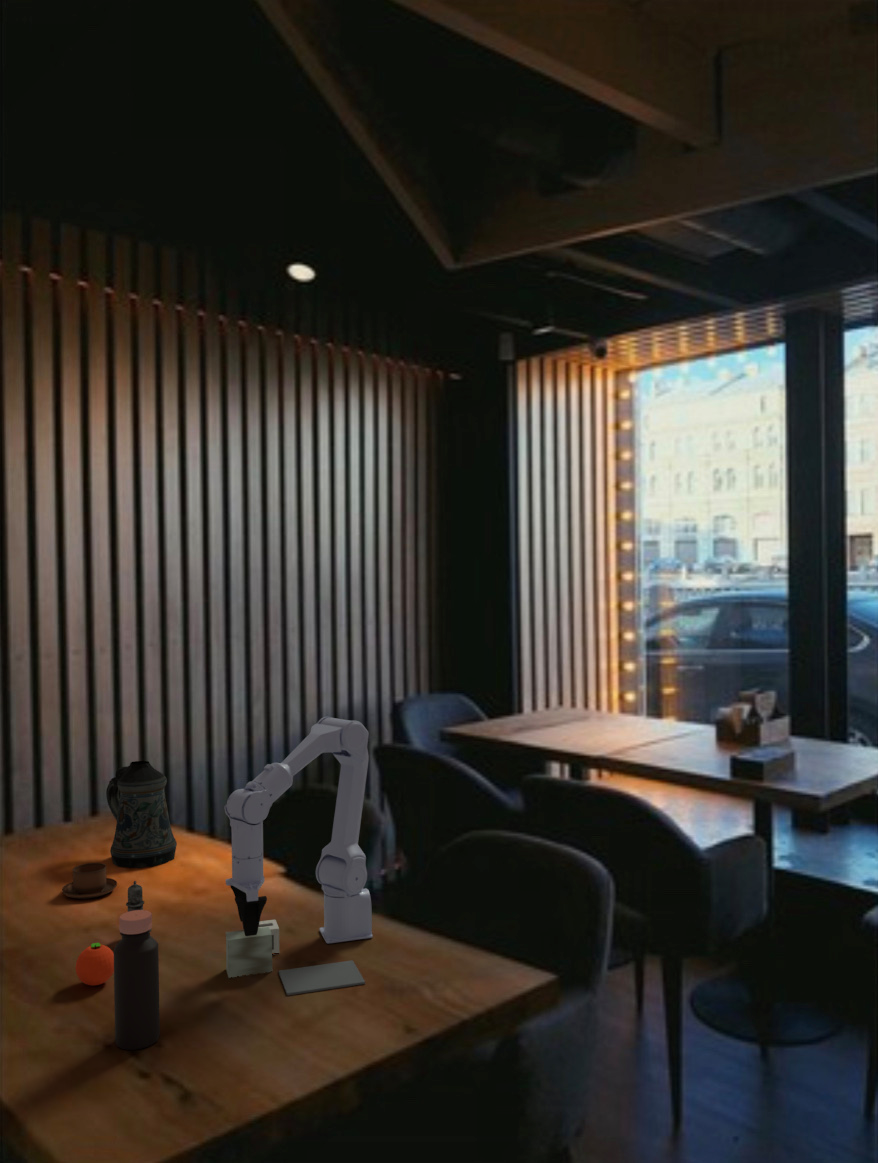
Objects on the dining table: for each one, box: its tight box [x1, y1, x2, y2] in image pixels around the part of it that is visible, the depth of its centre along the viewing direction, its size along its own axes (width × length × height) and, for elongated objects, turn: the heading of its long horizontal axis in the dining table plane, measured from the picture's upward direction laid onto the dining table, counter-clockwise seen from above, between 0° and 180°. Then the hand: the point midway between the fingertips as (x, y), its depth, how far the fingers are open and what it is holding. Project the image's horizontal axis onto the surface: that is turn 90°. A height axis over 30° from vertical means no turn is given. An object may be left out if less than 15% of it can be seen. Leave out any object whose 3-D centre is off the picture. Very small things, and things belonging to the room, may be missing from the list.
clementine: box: [75, 942, 114, 987], centre depth 173 cm, size 8×7×7 cm
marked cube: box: [258, 919, 280, 954], centre depth 187 cm, size 5×5×5 cm
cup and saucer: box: [61, 862, 118, 899], centre depth 222 cm, size 12×12×6 cm
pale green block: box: [225, 927, 273, 979], centre depth 178 cm, size 8×4×7 cm, turn 108°
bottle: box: [113, 909, 161, 1051], centre depth 152 cm, size 7×7×20 cm
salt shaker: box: [125, 880, 145, 912], centre depth 193 cm, size 6×6×12 cm
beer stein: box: [105, 760, 178, 869], centre depth 248 cm, size 16×19×25 cm
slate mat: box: [278, 960, 366, 996], centre depth 174 cm, size 14×10×1 cm
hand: (248, 927), depth 178 cm, fingers open, 7 cm apart
